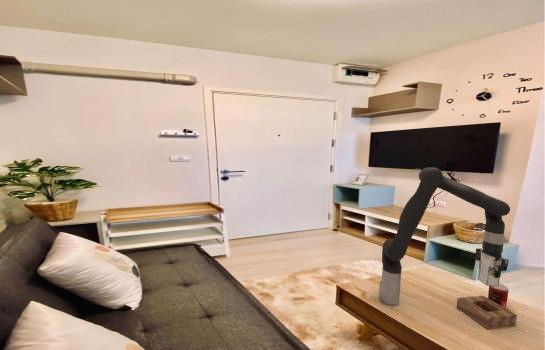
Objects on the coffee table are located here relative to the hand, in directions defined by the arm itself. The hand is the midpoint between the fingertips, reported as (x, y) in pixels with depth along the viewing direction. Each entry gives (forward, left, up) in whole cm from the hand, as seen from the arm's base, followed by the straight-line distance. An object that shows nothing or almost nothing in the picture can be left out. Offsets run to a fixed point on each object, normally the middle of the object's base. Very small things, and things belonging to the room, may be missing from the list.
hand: (489, 274), depth 124 cm
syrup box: (0, 0, -5) cm, 5 cm away
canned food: (+16, +7, -22) cm, 28 cm away
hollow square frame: (0, 0, -22) cm, 22 cm away
